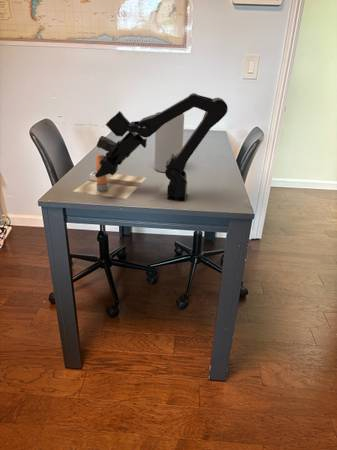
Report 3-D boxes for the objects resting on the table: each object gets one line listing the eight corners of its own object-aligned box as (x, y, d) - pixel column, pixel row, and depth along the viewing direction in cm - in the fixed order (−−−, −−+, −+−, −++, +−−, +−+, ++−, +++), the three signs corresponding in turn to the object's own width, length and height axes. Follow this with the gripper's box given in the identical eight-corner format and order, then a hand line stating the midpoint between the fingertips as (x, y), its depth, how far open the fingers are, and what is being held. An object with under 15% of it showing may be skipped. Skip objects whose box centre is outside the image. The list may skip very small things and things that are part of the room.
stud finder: (107, 178, 138) (107, 172, 137) (103, 181, 135) (103, 175, 133) (94, 177, 139) (93, 171, 138) (89, 180, 136) (89, 174, 135)
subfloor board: (146, 181, 142) (146, 177, 141) (126, 202, 121) (126, 198, 120) (100, 175, 146) (100, 171, 145) (73, 195, 125) (72, 191, 125)
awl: (109, 188, 128) (107, 155, 123) (104, 192, 125) (103, 158, 119) (99, 187, 129) (97, 154, 123) (95, 191, 126) (92, 157, 120)
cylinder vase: (150, 166, 160) (151, 111, 149) (174, 164, 165) (177, 111, 153) (160, 174, 150) (161, 116, 139) (185, 172, 155) (189, 116, 143)
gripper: (114, 124, 125) (87, 152, 130) (104, 135, 108) (73, 166, 114) (136, 146, 128) (108, 172, 134) (129, 159, 112) (98, 189, 117)
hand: (97, 174), depth 124 cm, fingers open, 5 cm apart
